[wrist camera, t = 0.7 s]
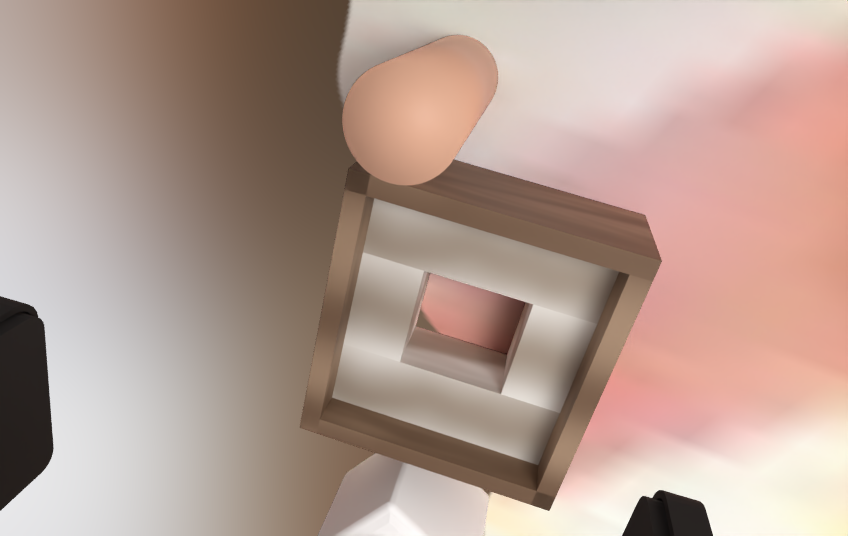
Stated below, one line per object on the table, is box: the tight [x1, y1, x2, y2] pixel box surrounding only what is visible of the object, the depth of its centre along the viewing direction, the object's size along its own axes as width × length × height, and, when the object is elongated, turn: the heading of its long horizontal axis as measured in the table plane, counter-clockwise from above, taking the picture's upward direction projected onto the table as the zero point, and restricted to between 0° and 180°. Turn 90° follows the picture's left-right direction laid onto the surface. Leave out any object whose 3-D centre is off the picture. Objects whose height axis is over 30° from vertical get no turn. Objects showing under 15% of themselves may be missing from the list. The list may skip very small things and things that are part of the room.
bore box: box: [300, 160, 662, 511], centre depth 33 cm, size 15×14×6 cm
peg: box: [342, 35, 498, 185], centre depth 26 cm, size 4×4×12 cm
